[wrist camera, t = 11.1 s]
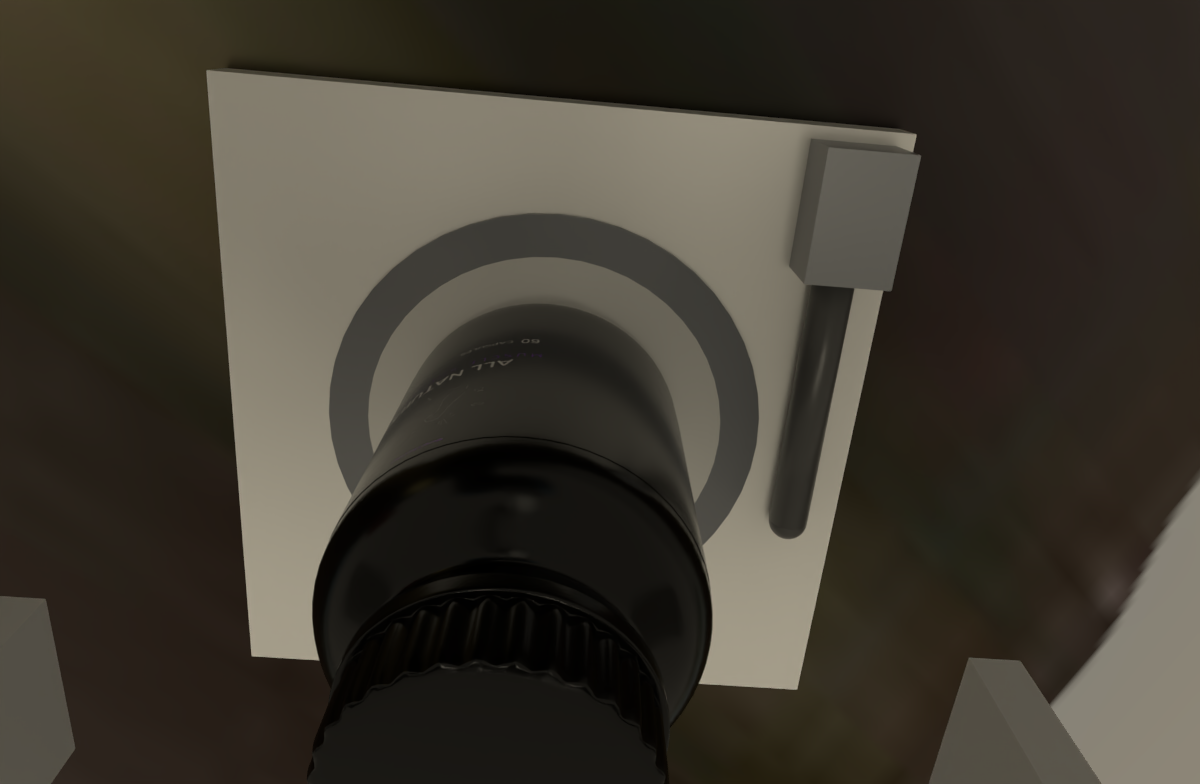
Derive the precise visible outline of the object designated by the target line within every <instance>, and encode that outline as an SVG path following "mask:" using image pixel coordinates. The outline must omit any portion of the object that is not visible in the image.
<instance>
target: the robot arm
mask: <svg viewBox="0 0 1200 784" xmlns="http://www.w3.org/2000/svg"><path fill="white" fill-rule="evenodd" d="M74 750H75V745H74V740H73V735H72V730H71V725H70V719H69V714H68V709H67V704H66V699H65V694H64V689H63V684H62V679H61V674H60V669H59V664H58V659H57V654H56V649H55V644H54V639H53V634H52V629H51V624H50V619H49V614H48V609H47V604H46V599H36V598H21V597H5V596H0V784H51V783H52V781H53V780H54V778H55V777H56V776H57V774H58V773H59V771H60V770H61V768H62V767H63V765H64V764H65V763H66V761H67V760H68V758H69V757H70V755H71V754H72V753H73V751H74ZM929 784H1101V782H1100V781H1099V779H1098V778H1097V776H1096V775H1095V773H1094V772H1093V770H1092V769H1091V767H1090V766H1089V764H1088V763H1087V761H1086V760H1085V758H1084V757H1083V755H1082V754H1081V752H1080V751H1079V749H1078V748H1077V746H1076V745H1075V743H1074V742H1073V740H1072V739H1071V737H1070V736H1069V734H1068V733H1067V731H1066V730H1065V728H1064V726H1063V725H1062V723H1061V722H1060V720H1059V719H1058V717H1057V716H1056V714H1055V713H1054V711H1053V710H1052V708H1051V707H1050V705H1049V704H1048V702H1047V701H1046V699H1045V698H1044V696H1043V695H1042V693H1041V692H1040V690H1039V689H1038V687H1037V685H1036V684H1035V682H1034V681H1033V679H1032V678H1031V676H1030V675H1029V673H1028V672H1027V670H1026V669H1025V667H1024V666H1023V664H1022V663H1021V661H1014V660H998V659H982V658H969V659H968V662H967V665H966V669H965V672H964V675H963V678H962V681H961V684H960V687H959V691H958V694H957V697H956V700H955V703H954V706H953V709H952V712H951V716H950V719H949V722H948V725H947V728H946V731H945V734H944V738H943V741H942V744H941V747H940V750H939V753H938V756H937V760H936V763H935V766H934V769H933V772H932V775H931V778H930V781H929Z"/></svg>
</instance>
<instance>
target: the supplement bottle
mask: <svg viewBox="0 0 1200 784" xmlns="http://www.w3.org/2000/svg"><path fill="white" fill-rule="evenodd" d="M312 624H313V633H314V640H315V645H316V649H317V654H318V657H319V661H320V663H321V666H322V669H323V672H324V675H325V677H326V679H327V681H328V684H329V686H330V688H331V691H330V696H329V703H328V707H327V709H326V712H325V714H324V717H323V719H322V722H321V724H320V727H319V729H318V732H317V734H316V737H315V740H314V744H313V751H312V754H313V757H312V759H311V762H310V765H309V768H308V773H307V781H308V784H669V775H668V764H667V749H668V743H669V735H670V727H671V726H672V725H673V724H674V722H675V721H676V720H677V719H678V717H679V716H680V715H681V714H682V712H683V711H684V709H685V707H686V706H687V704H688V703H689V701H690V699H691V698H692V696H693V694H694V692H695V690H696V688H697V686H698V684H699V682H700V680H701V677H702V675H703V672H704V669H705V666H706V663H707V659H708V655H709V650H710V646H711V639H712V630H713V609H712V599H711V589H710V582H709V576H708V570H707V565H706V560H705V555H704V550H703V545H702V540H701V535H700V530H699V525H698V520H697V515H696V509H695V504H694V499H693V494H692V489H691V484H690V479H689V474H688V469H687V464H686V459H685V454H684V449H683V444H682V439H681V434H680V429H679V424H678V420H677V416H676V412H675V408H674V404H673V400H672V397H671V394H670V392H669V389H668V386H667V384H666V382H665V380H664V378H663V376H662V374H661V372H660V370H659V369H658V367H657V366H656V364H655V362H654V361H653V360H652V359H651V357H650V356H649V355H648V353H647V352H646V351H645V350H644V349H643V348H642V347H641V346H640V345H639V344H638V343H637V342H636V341H635V340H634V339H633V338H632V337H630V336H629V335H628V334H627V333H625V332H624V331H623V330H621V329H620V328H618V327H617V326H615V325H614V324H612V323H610V322H608V321H606V320H605V319H603V318H600V317H598V316H596V315H594V314H591V313H588V312H585V311H582V310H579V309H576V308H571V307H567V306H562V305H554V304H521V305H515V306H509V307H505V308H501V309H497V310H494V311H491V312H488V313H485V314H482V315H480V316H478V317H476V318H474V319H472V320H470V321H468V322H467V323H465V324H463V325H462V326H460V327H458V328H457V329H456V330H455V331H453V332H452V333H451V334H449V335H448V336H447V337H446V338H445V339H444V340H443V341H442V342H441V343H439V344H438V346H437V347H436V348H435V349H434V350H433V351H432V353H431V354H430V355H429V356H428V357H427V359H426V360H425V362H424V363H423V365H422V366H421V368H420V369H419V371H418V373H417V374H416V376H415V378H414V379H413V381H412V383H411V385H410V387H409V389H408V390H407V392H406V394H405V396H404V398H403V400H402V402H401V404H400V405H399V407H398V409H397V411H396V413H395V415H394V417H393V419H392V421H391V422H390V424H389V426H388V428H387V430H386V432H385V434H384V436H383V438H382V439H381V441H380V443H379V445H378V447H377V449H376V451H375V453H374V455H373V456H372V458H371V460H370V462H369V464H368V466H367V468H366V470H365V472H364V474H363V475H362V477H361V479H360V481H359V483H358V485H357V487H356V489H355V491H354V492H353V494H352V496H351V498H350V500H349V502H348V504H347V506H346V508H345V509H344V511H343V513H342V515H341V517H340V519H339V521H338V523H337V525H336V527H335V528H334V530H333V532H332V534H331V537H330V539H329V542H328V544H327V547H326V549H325V552H324V554H323V557H322V559H321V562H320V564H319V568H318V571H317V575H316V579H315V584H314V591H313V599H312Z"/></svg>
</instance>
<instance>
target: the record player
mask: <svg viewBox="0 0 1200 784" xmlns="http://www.w3.org/2000/svg"><path fill="white" fill-rule="evenodd" d="M206 73H207V86H208V99H209V112H210V125H211V138H212V151H213V163H214V176H215V189H216V202H217V215H218V228H219V241H220V254H221V267H222V279H223V292H224V305H225V318H226V331H227V344H228V357H229V370H230V383H231V395H232V408H233V421H234V434H235V447H236V460H237V473H238V486H239V498H240V511H241V524H242V537H243V550H244V563H245V576H246V589H247V602H248V614H249V627H250V640H251V653H252V656H258V657H274V658H291V659H307V660H319V657H318V654H317V649H316V645H315V640H314V633H313V624H312V599H313V591H314V584H315V579H316V575H317V571H318V568H319V564H320V562H321V559H322V557H323V554H324V552H325V549H326V547H327V544H328V542H329V539H330V537H331V534H332V532H333V530H334V528H335V527H336V525H337V523H338V521H339V519H340V517H341V515H342V513H343V511H344V509H345V508H346V506H347V504H348V502H349V500H350V498H351V496H352V494H353V492H354V491H355V489H356V487H357V485H358V483H359V481H360V479H361V477H362V475H363V474H364V472H365V470H366V468H367V466H368V464H369V462H370V460H371V458H372V456H373V455H374V453H375V451H376V449H377V447H378V445H379V443H380V441H381V439H382V438H383V436H384V434H385V432H386V430H387V428H388V426H389V424H390V422H391V421H392V419H393V417H394V415H395V413H396V411H397V409H398V407H399V405H400V404H401V402H402V400H403V398H404V396H405V394H406V392H407V390H408V389H409V387H410V385H411V383H412V381H413V379H414V378H415V376H416V374H417V373H418V371H419V369H420V368H421V366H422V365H423V363H424V362H425V360H426V359H427V357H428V356H429V355H430V354H431V353H432V351H433V350H434V349H435V348H436V347H437V346H438V344H439V343H441V342H442V341H443V340H444V339H445V338H446V337H447V336H448V335H449V334H451V333H452V332H453V331H455V330H456V329H457V328H458V327H460V326H462V325H463V324H465V323H467V322H468V321H470V320H472V319H474V318H476V317H478V316H480V315H482V314H485V313H488V312H491V311H494V310H497V309H501V308H505V307H509V306H515V305H521V304H554V305H562V306H567V307H571V308H576V309H579V310H582V311H585V312H588V313H591V314H594V315H596V316H598V317H600V318H603V319H605V320H606V321H608V322H610V323H612V324H614V325H615V326H617V327H618V328H620V329H621V330H623V331H624V332H625V333H627V334H628V335H629V336H630V337H632V338H633V339H634V340H635V341H636V342H637V343H638V344H639V345H640V346H641V347H642V348H643V349H644V350H645V351H646V352H647V353H648V355H649V356H650V357H651V359H652V360H653V361H654V362H655V364H656V366H657V367H658V369H659V370H660V372H661V374H662V376H663V378H664V380H665V382H666V384H667V386H668V389H669V392H670V394H671V397H672V400H673V404H674V408H675V412H676V416H677V420H678V424H679V429H680V434H681V439H682V444H683V449H684V454H685V459H686V464H687V469H688V474H689V479H690V484H691V489H692V494H693V499H694V504H695V509H696V515H697V520H698V525H699V530H700V535H701V540H702V545H703V550H704V555H705V560H706V565H707V570H708V576H709V582H710V589H711V599H712V609H713V630H712V639H711V646H710V650H709V655H708V659H707V663H706V666H705V669H704V672H703V675H702V677H701V680H700V682H699V684H713V685H729V686H746V687H762V688H778V689H794V690H797V687H798V683H799V678H800V673H801V669H802V664H803V659H804V655H805V650H806V645H807V641H808V636H809V632H810V627H811V622H812V618H813V613H814V608H815V604H816V599H817V594H818V590H819V585H820V581H821V576H822V571H823V567H824V562H825V557H826V553H827V548H828V544H829V539H830V534H831V530H832V525H833V520H834V516H835V511H836V506H837V502H838V497H839V493H840V488H841V483H842V479H843V474H844V469H845V465H846V460H847V455H848V451H849V446H850V442H851V437H852V432H853V428H854V423H855V418H856V414H857V409H858V405H859V400H860V395H861V391H862V386H863V381H864V377H865V372H866V367H867V363H868V358H869V354H870V349H871V344H872V340H873V335H874V330H875V326H876V321H877V316H878V312H879V307H880V303H881V298H882V293H883V291H892V286H893V282H894V277H895V272H896V268H897V263H898V259H899V254H900V250H901V245H902V241H903V236H904V231H905V227H906V222H907V218H908V213H909V209H910V204H911V200H912V195H913V190H914V186H915V181H916V177H917V172H918V168H919V163H920V159H921V155H919V154H916V153H913V150H914V145H915V140H916V136H917V134H914V133H911V132H908V131H905V130H902V129H895V128H884V127H873V126H862V125H851V124H840V123H829V122H818V121H807V120H796V119H785V118H774V117H763V116H752V115H741V114H730V113H719V112H707V111H696V110H685V109H674V108H663V107H652V106H641V105H630V104H619V103H608V102H597V101H586V100H575V99H564V98H553V97H542V96H531V95H520V94H509V93H498V92H487V91H476V90H465V89H454V88H443V87H432V86H420V85H409V84H398V83H387V82H376V81H365V80H354V79H343V78H332V77H321V76H310V75H299V74H288V73H277V72H266V71H255V70H244V69H233V68H222V69H212V70H206Z"/></svg>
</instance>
